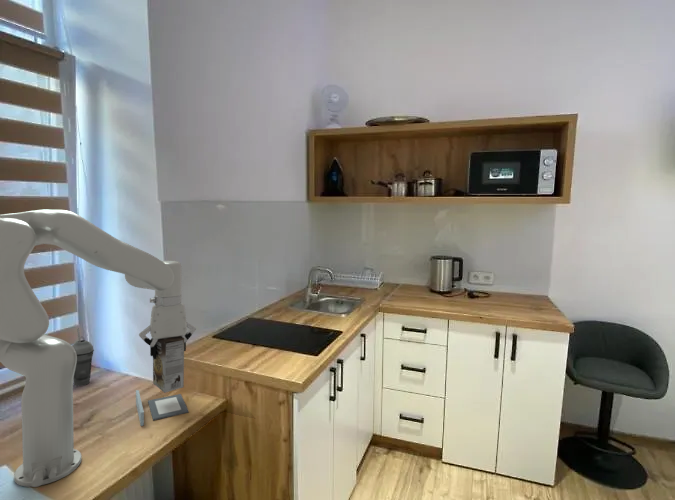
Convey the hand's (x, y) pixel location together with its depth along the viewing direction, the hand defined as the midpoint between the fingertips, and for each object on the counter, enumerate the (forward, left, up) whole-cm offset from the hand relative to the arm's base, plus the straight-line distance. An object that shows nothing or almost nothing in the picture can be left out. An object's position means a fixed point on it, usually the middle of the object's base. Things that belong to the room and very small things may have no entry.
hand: (168, 355), depth 118 cm
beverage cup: (+32, +24, -17) cm, 43 cm away
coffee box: (0, 0, -10) cm, 10 cm away
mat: (0, 0, -17) cm, 17 cm away
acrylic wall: (0, +8, -17) cm, 19 cm away
